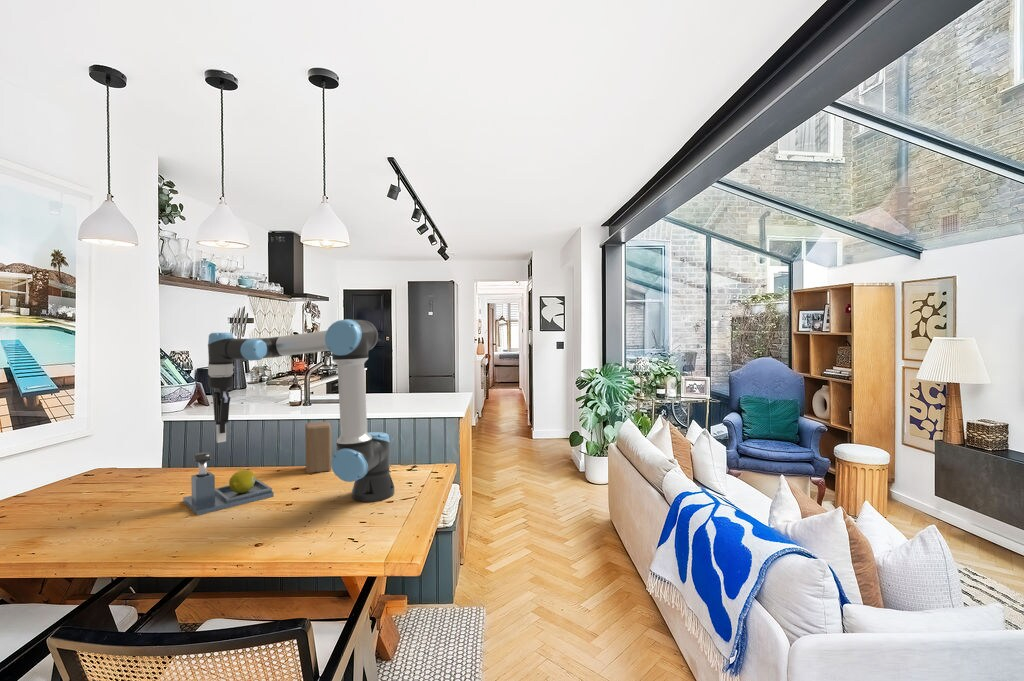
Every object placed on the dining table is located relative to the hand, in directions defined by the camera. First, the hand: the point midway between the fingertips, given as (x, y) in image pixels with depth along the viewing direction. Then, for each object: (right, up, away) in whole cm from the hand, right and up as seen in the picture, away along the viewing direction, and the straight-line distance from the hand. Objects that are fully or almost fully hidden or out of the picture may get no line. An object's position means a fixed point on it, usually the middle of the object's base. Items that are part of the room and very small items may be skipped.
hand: (221, 441), depth 169 cm
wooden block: (+20, -20, +37) cm, 47 cm away
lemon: (+5, -20, +5) cm, 21 cm away
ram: (-4, -14, -4) cm, 15 cm away
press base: (+2, -21, +2) cm, 21 cm away
